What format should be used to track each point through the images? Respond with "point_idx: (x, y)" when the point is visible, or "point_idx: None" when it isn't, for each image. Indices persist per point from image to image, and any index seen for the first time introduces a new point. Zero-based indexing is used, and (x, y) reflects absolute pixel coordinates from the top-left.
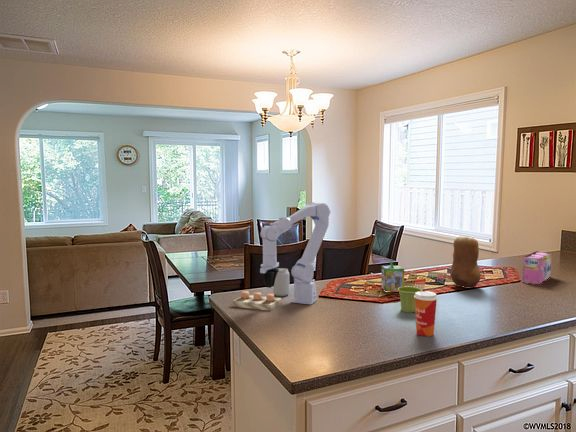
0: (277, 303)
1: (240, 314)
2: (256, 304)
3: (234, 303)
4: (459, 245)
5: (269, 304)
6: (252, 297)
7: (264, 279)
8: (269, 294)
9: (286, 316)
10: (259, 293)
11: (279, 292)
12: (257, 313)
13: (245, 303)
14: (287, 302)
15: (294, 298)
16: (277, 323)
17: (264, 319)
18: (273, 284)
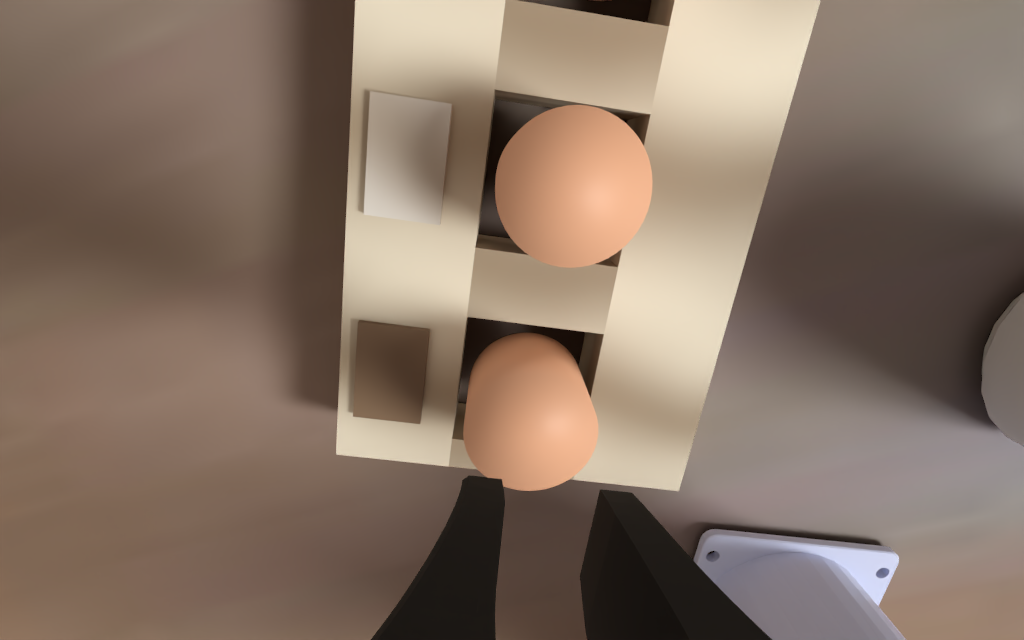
0: None
1: (75, 84)
2: (348, 237)
3: None
4: None
5: (356, 425)
6: (665, 53)
7: (383, 624)
8: (546, 418)
9: (239, 588)
10: (581, 230)
11: (1016, 370)
12: (211, 293)
13: (361, 32)
14: (713, 490)
15: (758, 579)
16: (8, 568)
17: (51, 429)
18: (586, 621)
